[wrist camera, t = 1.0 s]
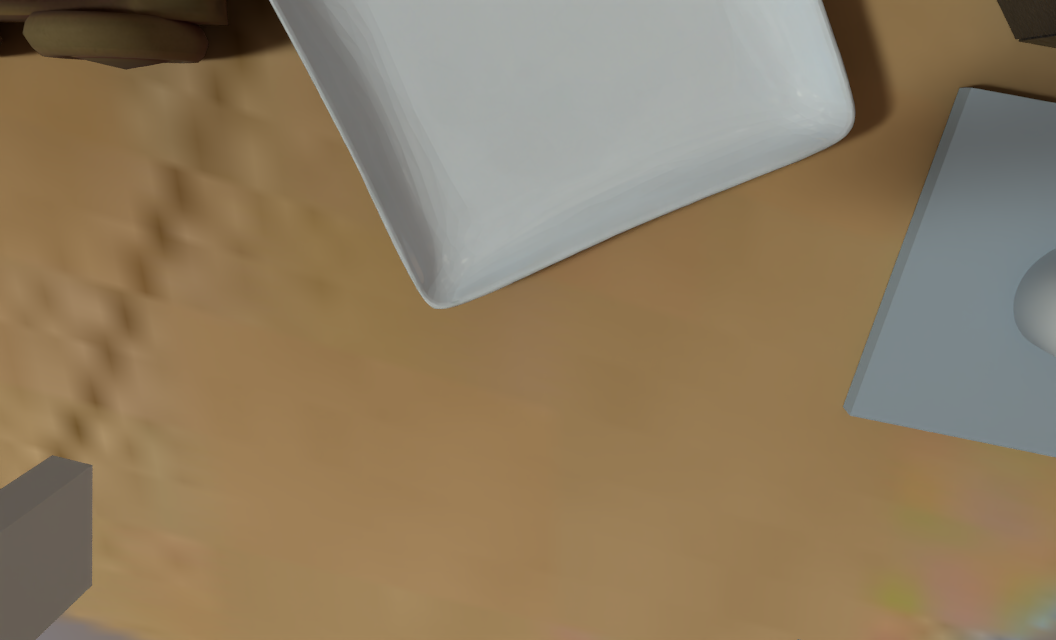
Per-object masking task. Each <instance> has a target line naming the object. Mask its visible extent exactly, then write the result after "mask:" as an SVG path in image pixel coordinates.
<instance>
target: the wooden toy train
mask: <svg viewBox="0 0 1056 640" xmlns="http://www.w3.org/2000/svg"><path fill="white" fill-rule="evenodd" d="M0 22H25V24H24V29H23V35H24V36H25V38H26V39H27V41H28V42H29V44H30V45H31V46H32V48H33V49H34V50H36V51H37V52H38V53H40V54H41V55H42V56H45V57H53V58H65V59H80V60H88V61H92V62H97V63H101V64H105V65H109V66H114V67H118V68H122V69H131V68H137V67H143V66H148V65H154V64H160V63H198V62H199V61H200V60H201V59H202V58H203V57H204V56H205V53H206V51H207V48H208V45H209V43H208V40H207V38H206V36H205V34H204V32H203V30H202V29H201V28H200V27H199V26H198V25H228V15H227V6H226V0H0ZM1 43H2V39H1V37H0V46H1Z"/></svg>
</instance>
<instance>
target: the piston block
mask: <svg viewBox="0 0 1056 640" xmlns="http://www.w3.org/2000/svg"><path fill="white" fill-rule="evenodd" d="M843 407H844V409H845V410H846V411H847V412H848V414H849V415H851V416H856V417H860V418H865V419H870V420H875V421H880V422H885V423H890V424H895V425H900V426H905V427H910V428H915V429H920V430H924V431H929V432H934V433H939V434H944V435H949V436H954V437H959V438H964V439H969V440H974V441H979V442H983V443H988V444H993V445H998V446H1003V447H1008V448H1013V449H1018V450H1023V451H1028V452H1033V453H1038V454H1043V455H1047V456H1052V457H1056V103H1052V102H1047V101H1042V100H1036V99H1031V98H1025V97H1020V96H1014V95H1009V94H1004V93H998V92H993V91H987V90H982V89H976V88H959V91H958V94H957V96H956V99H955V102H954V105H953V107H952V110H951V113H950V116H949V118H948V121H947V124H946V127H945V129H944V132H943V135H942V138H941V140H940V143H939V146H938V148H937V151H936V154H935V157H934V159H933V162H932V165H931V168H930V170H929V173H928V176H927V179H926V181H925V184H924V187H923V190H922V192H921V195H920V198H919V200H918V203H917V206H916V209H915V211H914V214H913V217H912V220H911V222H910V225H909V228H908V231H907V233H906V236H905V239H904V241H903V244H902V247H901V250H900V252H899V255H898V258H897V261H896V263H895V266H894V269H893V272H892V274H891V277H890V280H889V283H888V285H887V288H886V291H885V293H884V296H883V299H882V302H881V304H880V307H879V310H878V313H877V315H876V318H875V321H874V324H873V326H872V329H871V332H870V335H869V337H868V340H867V343H866V345H865V348H864V351H863V354H862V356H861V359H860V362H859V365H858V367H857V370H856V373H855V376H854V378H853V381H852V384H851V387H850V389H849V392H848V395H847V397H846V400H845V403H844V406H843Z"/></svg>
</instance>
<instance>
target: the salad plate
mask: <svg viewBox="0 0 1056 640" xmlns="http://www.w3.org/2000/svg"><path fill="white" fill-rule="evenodd" d="M269 1H270V3H271V5H272V7H273V8H274V10H275V12H276V14H277V16H278V18H279V19H280V21H281V23H282V25H283V27H284V28H285V30H286V32H287V34H288V36H289V38H290V40H291V42H292V43H293V45H294V47H295V49H296V51H297V53H298V55H299V57H300V58H301V60H302V62H303V64H304V66H305V68H306V69H307V71H308V73H309V75H310V77H311V79H312V81H313V83H314V85H315V86H316V88H317V90H318V92H319V94H320V96H321V98H322V100H323V102H324V104H325V106H326V107H327V109H328V111H329V113H330V115H331V117H332V119H333V121H334V123H335V125H336V127H337V128H338V130H339V132H340V134H341V136H342V138H343V140H344V142H345V144H346V146H347V148H348V149H349V151H350V154H351V156H352V158H353V160H354V162H355V164H356V165H357V167H358V170H359V172H360V174H361V176H362V178H363V180H364V182H365V185H366V187H367V189H368V191H369V193H370V195H371V198H372V200H373V202H374V204H375V206H376V208H377V210H378V213H379V215H380V217H381V219H382V221H383V223H384V225H385V227H386V230H387V232H388V234H389V236H390V238H391V240H392V242H393V244H394V246H395V248H396V250H397V252H398V254H399V256H400V258H401V260H402V262H403V264H404V266H405V268H406V270H407V272H408V274H409V275H410V277H411V279H412V281H413V283H414V284H415V286H416V288H417V290H418V291H419V293H420V295H421V296H422V297H423V299H424V300H425V301H426V302H427V303H428V304H429V305H430V306H431V307H433V308H435V309H445V308H450V307H455V306H458V305H461V304H464V303H466V302H469V301H471V300H474V299H476V298H479V297H481V296H484V295H487V294H489V293H491V292H494V291H496V290H498V289H501V288H503V287H505V286H507V285H509V284H511V283H513V282H515V281H518V280H520V279H522V278H524V277H526V276H529V275H531V274H533V273H535V272H537V271H539V270H541V269H544V268H546V267H548V266H550V265H552V264H554V263H557V262H559V261H561V260H563V259H565V258H568V257H570V256H572V255H574V254H576V253H578V252H580V251H582V250H585V249H587V248H589V247H591V246H594V245H596V244H598V243H600V242H602V241H604V240H606V239H608V238H611V237H613V236H615V235H617V234H620V233H622V232H624V231H627V230H629V229H631V228H634V227H636V226H638V225H641V224H643V223H645V222H648V221H650V220H653V219H655V218H657V217H660V216H662V215H665V214H667V213H669V212H672V211H674V210H677V209H679V208H682V207H684V206H687V205H689V204H692V203H694V202H696V201H699V200H701V199H703V198H706V197H708V196H711V195H713V194H716V193H719V192H721V191H724V190H726V189H729V188H731V187H734V186H736V185H739V184H741V183H744V182H746V181H749V180H751V179H754V178H756V177H759V176H761V175H764V174H766V173H769V172H771V171H774V170H777V169H779V168H782V167H784V166H787V165H789V164H792V163H795V162H797V161H800V160H802V159H804V158H806V157H808V156H811V155H813V154H815V153H817V152H819V151H821V150H824V149H826V148H828V147H830V146H832V145H833V144H835V143H837V142H839V141H840V140H841V139H843V138H844V137H845V136H847V134H848V133H849V132H850V130H851V129H852V127H853V124H854V121H855V105H854V100H853V96H852V92H851V88H850V84H849V80H848V76H847V73H846V70H845V67H844V63H843V60H842V57H841V54H840V51H839V49H838V46H837V43H836V40H835V37H834V34H833V31H832V28H831V25H830V22H829V19H828V16H827V13H826V10H825V7H824V4H823V1H822V0H269Z"/></svg>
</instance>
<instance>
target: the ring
mask: <svg viewBox="0 0 1056 640" xmlns="http://www.w3.org/2000/svg"><path fill="white" fill-rule="evenodd" d="M997 1H998V3H999V5H1000V7H1001V9H1002V12H1003V14H1004V16H1005V18H1006V20H1007V22H1008V24H1009V26H1010V28H1011V30H1012V32H1013V34H1014V37H1015V39H1019V41H1020V42H1025V43H1031V44H1036V45H1042V46H1047V47H1053V48H1056V0H997Z"/></svg>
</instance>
